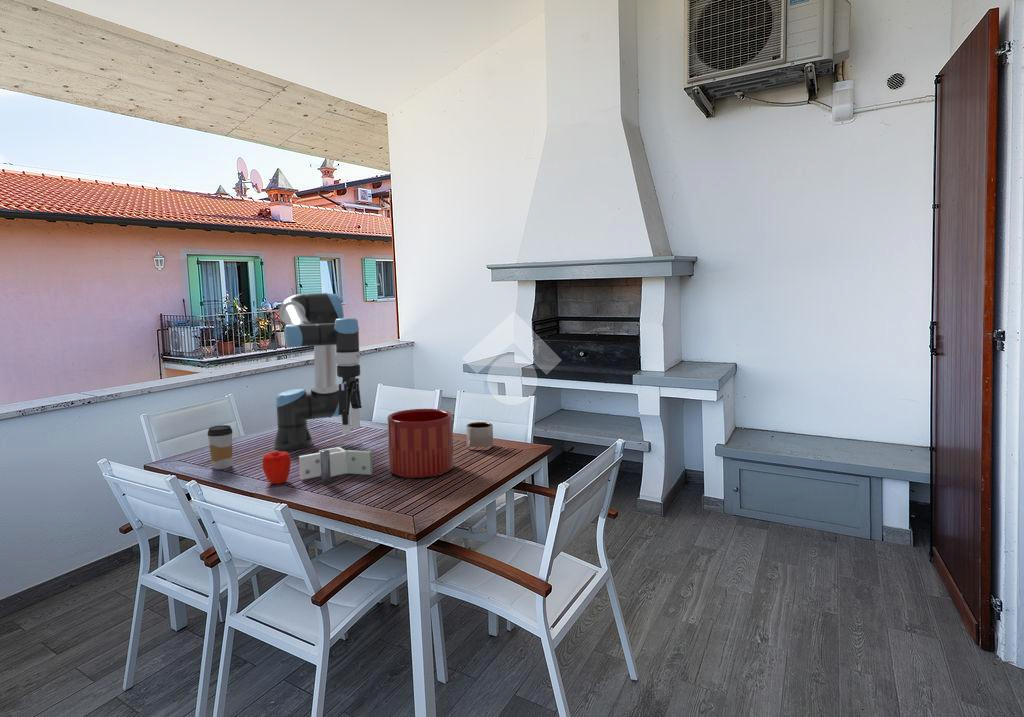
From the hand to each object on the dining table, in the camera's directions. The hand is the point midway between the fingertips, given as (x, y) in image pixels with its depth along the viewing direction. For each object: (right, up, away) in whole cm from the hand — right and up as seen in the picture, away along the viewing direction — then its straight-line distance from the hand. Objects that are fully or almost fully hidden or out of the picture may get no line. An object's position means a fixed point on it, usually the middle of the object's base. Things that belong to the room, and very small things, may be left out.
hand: (351, 430), depth 195 cm
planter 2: (+41, -13, +42) cm, 60 cm away
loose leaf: (+1, -16, +8) cm, 18 cm away
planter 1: (+22, -16, +13) cm, 30 cm away
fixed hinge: (-12, -17, +8) cm, 22 cm away
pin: (-8, -18, 0) cm, 20 cm away
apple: (-25, -18, 0) cm, 31 cm away
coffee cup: (-53, -16, +19) cm, 58 cm away
